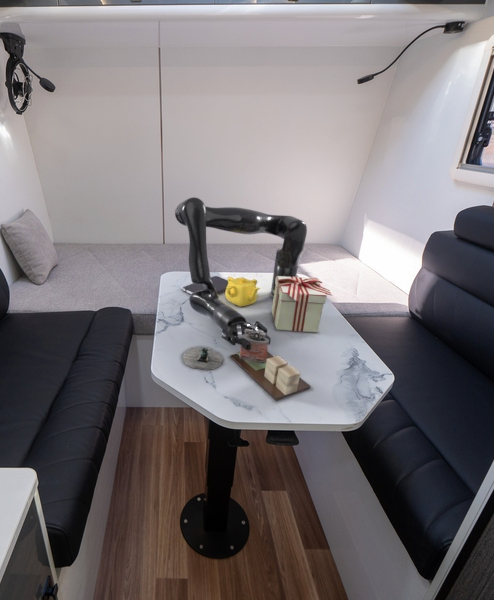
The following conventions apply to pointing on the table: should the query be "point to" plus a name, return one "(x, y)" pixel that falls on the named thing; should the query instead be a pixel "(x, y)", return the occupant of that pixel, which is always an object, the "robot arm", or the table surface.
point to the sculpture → (202, 358)
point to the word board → (264, 381)
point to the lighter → (255, 346)
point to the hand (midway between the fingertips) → (259, 344)
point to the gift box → (298, 303)
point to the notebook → (217, 281)
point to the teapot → (241, 291)
